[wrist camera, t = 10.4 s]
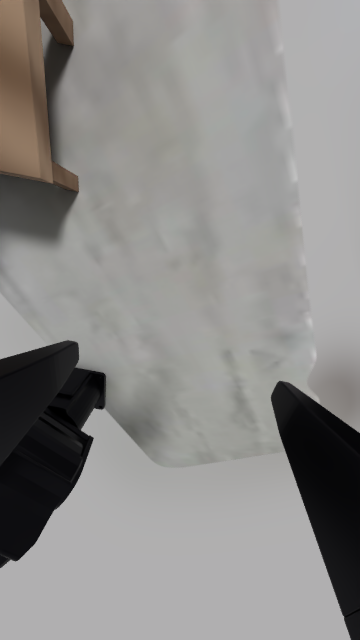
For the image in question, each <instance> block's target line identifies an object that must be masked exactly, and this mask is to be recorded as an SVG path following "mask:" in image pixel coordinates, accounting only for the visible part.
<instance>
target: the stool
mask: <svg viewBox="0 0 360 640" xmlns="http://www.w3.org/2000/svg"><path fill="white" fill-rule="evenodd" d="M40 17H41V19H42V20H43V22H44V23H45V25H46V26H47V28H48V29H49V31H50V32H51V34H52V35H53V37H54V38H55V40H56V41H57V43H61V44H66V45H71V46H74V42H73V21H72V19H71V17H70V15H69V13H68V11H67V9H66V8H65V6H64V4H63V2H62V0H0V174H5V175H10V176H15V177H21V178H26V179H31V180H36V181H41V182H46V183H52V184H54V185H57V186H59V187H61V188H64V189H66V190H71V191H76V192H79V188H78V176H76V175H75V174H73V173H71V172H70V171H68V170H66V169H65V168H63V167H61V166H60V165H58V164H56V163H55V162H53V161H51V149H50V137H49V124H48V111H47V98H46V86H45V73H44V60H43V48H42V35H41V22H40Z"/></svg>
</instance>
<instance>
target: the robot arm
mask: <svg viewBox="0 0 360 640" xmlns="http://www.w3.org/2000/svg"><path fill="white" fill-rule="evenodd" d="M78 360H79V347H78V343H77V342H74V341H69V340H67V341H63V342H60V343H56V344H53V345H49V346H46V347H42V348H39V349H35V350H32V351H28V352H25V353H21V354H17V355H14V356H10V357H7V358H3V359H0V568H1V567H3V566H4V565H5V564H6V563H7V562H8V561H10V560H13V561H18V560H19V559H20V558H21V557H22V556H23V555H24V554H25V553H26V552H27V551H28V550H29V549H30V548H31V547H32V546H33V545H34V544H35V543H36V541H37V540H38V538H39V536H40V534H41V532H42V530H43V529H44V527H45V525H46V523H47V521H48V520H49V518H50V516H51V514H52V513H53V511H54V510H55V509H57V508H58V507H59V506H60V505H61V504H62V503H63V502H64V501H65V499H66V498H67V497H68V495H69V494H70V493H71V491H72V489H73V488H74V486H75V485H76V483H77V481H78V479H79V477H80V475H81V472H82V470H83V467H84V464H85V462H86V459H87V456H88V453H89V450H90V447H91V444H92V442H93V439H94V438H93V437H91V436H88V435H87V434H85V433H84V432H82V431H81V428H82V427H83V425H84V424H85V422H86V420H87V419H88V417H89V415H90V413H91V412H92V411H93V409H94V408H96V409H104V407H105V392H106V375H105V374H104V373H101V372H96V371H90V370H85V369H80V368H75V366H76V365H77V363H78ZM101 376H102V377H101ZM271 401H272V405H273V410H274V414H275V418H276V422H277V426H278V430H279V433H280V437H281V440H282V443H283V446H284V449H285V451H286V454H287V457H288V460H289V463H290V466H291V469H292V471H293V474H294V477H295V480H296V483H297V486H298V488H299V491H300V494H301V497H302V500H303V503H304V506H305V509H306V511H307V514H308V517H309V520H310V523H311V526H312V528H313V532H314V534H315V537H316V540H317V543H318V546H319V549H320V552H321V554H322V557H323V560H324V563H325V566H326V569H327V572H328V574H329V577H330V580H331V583H332V586H333V589H334V592H335V594H336V597H337V600H338V603H339V606H340V609H341V612H342V614H343V616H344V621H345V624H346V627H347V629H348V632H349V635H350V638H351V640H360V433H359V432H357V431H356V430H355V429H353V428H352V427H350V426H349V425H348V424H346V423H345V422H343V421H342V420H341V419H339V418H338V417H336V416H335V415H334V414H332V413H331V412H330V411H328V410H327V409H325V408H324V407H322V406H321V405H320V404H318V403H317V402H316V401H314V400H313V399H311V398H310V397H309V396H307V395H306V394H304V393H303V392H302V391H300V390H299V389H297V388H296V387H295V386H293V385H292V384H290V383H288V382H283V381H279V382H278V383H277V385H276V387H275V389H274V391H273V393H272V395H271Z"/></svg>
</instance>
